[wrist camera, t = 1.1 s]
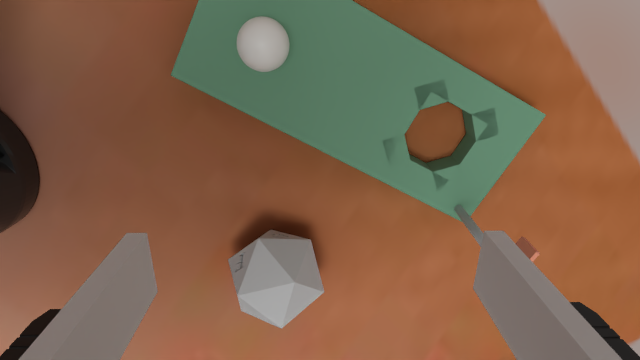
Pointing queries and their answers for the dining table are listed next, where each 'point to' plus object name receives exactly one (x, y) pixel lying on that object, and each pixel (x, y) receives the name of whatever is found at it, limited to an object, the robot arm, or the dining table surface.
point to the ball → (262, 44)
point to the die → (276, 277)
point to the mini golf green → (361, 96)
